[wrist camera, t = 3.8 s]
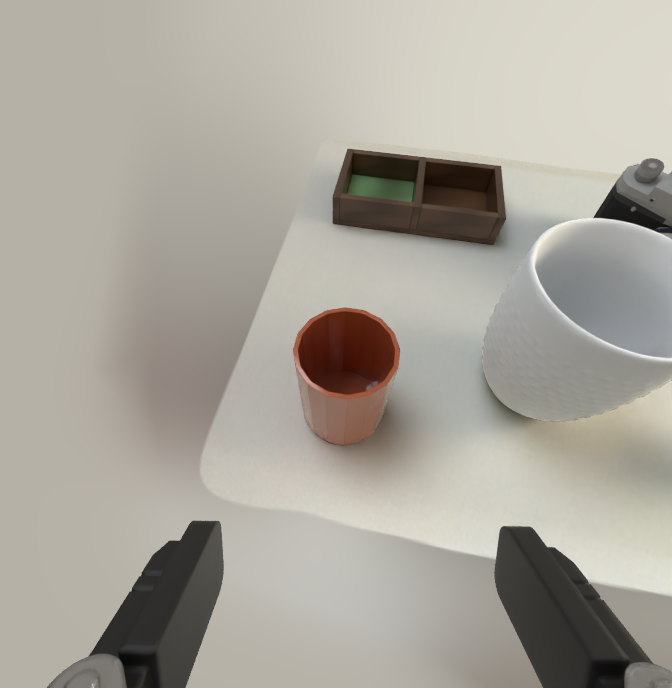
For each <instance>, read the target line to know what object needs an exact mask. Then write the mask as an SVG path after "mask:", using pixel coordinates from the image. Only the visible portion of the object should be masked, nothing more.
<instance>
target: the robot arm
mask: <svg viewBox="0 0 672 688" xmlns="http://www.w3.org/2000/svg"><path fill="white" fill-rule="evenodd" d="M223 566H224V565H223V549H222V533H221V524H220V522H219V521H192V522H191V523H190V524H189V526H188V528H187V529H186V531H185V533H184V535H183V536H182V539H181V540H180V541H169V542H168V543H166V544H165V545H164V546H163V547H162V548H161V549H160V550H159V551H157V552H156V553H155V554H154V555H153V556H152V557H151V559H150V561H149V562H148V564H147V565H146V567H145V568H144V570H143V572H142V575H141V576H140V577H139V578H138V580H137V581H136V583H135V584H134V586H133V588H132V591H131V592H129V594H128V595H127V597H126V599H125V600H124V602H123V604H122V605H121V606H120V608H119V610H118V611H117V613H116V614H115V616H114V618H113V619H112V621H111V622H110V624H109V626H108V627H107V629H106V631H105V632H104V633H103V635H102V637H101V638H100V640H99V641H98V643H97V645H96V646H95V648H94V650H93V651H92V653H91V654H90V655H89V656H88V657H86V658H84V659H82V660H80V661H78V662H76V663H74V664H73V665H71V666H70V667H68V668H67V669H66V670H64V671H63V672H62V673H61V674H59V675H58V676H57V677H56V678H55V679H54V680H53V681H52V682H51V683H50V685H49V686H48V687H47V688H185V687H186V684H187V681H188V679H189V676H190V673H191V670H192V668H193V665H194V662H195V659H196V656H197V654H198V651H199V648H200V645H201V643H202V640H203V637H204V634H205V631H206V629H207V626H208V623H209V620H210V617H211V615H212V612H213V609H214V606H215V604H216V600H217V598H218V595H219V592H220V589H221V585H222V579H223V570H224V569H223V568H224V567H223ZM495 583H496V588H497V591H498V595H499V597H500V599H501V601H502V604H503V606H504V608H505V610H506V612H507V614H508V616H509V618H510V620H511V622H512V624H513V626H514V628H515V630H516V632H517V635H518V636H519V639H520V640H521V643H522V645H523V647H524V649H525V651H526V653H527V655H528V657H529V659H530V661H531V663H532V665H533V668H534V670H535V672H536V674H537V676H538V678H539V680H540V682H541V684H542V686H543V688H672V672H671V671H669V670H667V669H665V668H663V667H661V666H658V665H655V664H653V663H652V662H651V661H650V659H649V658H648V656H647V655H646V654H645V653H644V651H643V650H642V649H641V648H640V646H639V645H638V644H637V643H636V641H635V640H634V639H633V637H632V636H631V635H630V634H629V632H628V631H627V630H626V628H625V627H624V626H623V625H622V624H621V622H620V621H619V620H618V618H617V617H616V616H615V615H614V613H613V612H612V611H611V609H610V608H609V607H608V606H607V604H606V603H605V602H604V600H601V599H600V596H599V594H598V593H597V592H596V590H595V589H594V588H593V587H592V585H591V584H589V583H588V580H587V579H586V578H585V576H584V575H583V574H582V573H581V571H580V570H579V569H578V567H577V566H576V565H575V564H574V563H573V562H572V561H571V560H570V559H568V558H567V557H566V556H565V555H563V554H562V553H561V552H559V551H558V550H557V549H556V548H554V547H547V546H546V545H545V544H544V542H543V541H542V540H541V538H540V537H539V536H538V534H537V533H536V532H535V530H534V529H533V528H531V527H521V526H503V527H502V528H501V529H500V533H499V541H498V548H497V556H496V564H495Z"/></svg>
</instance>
